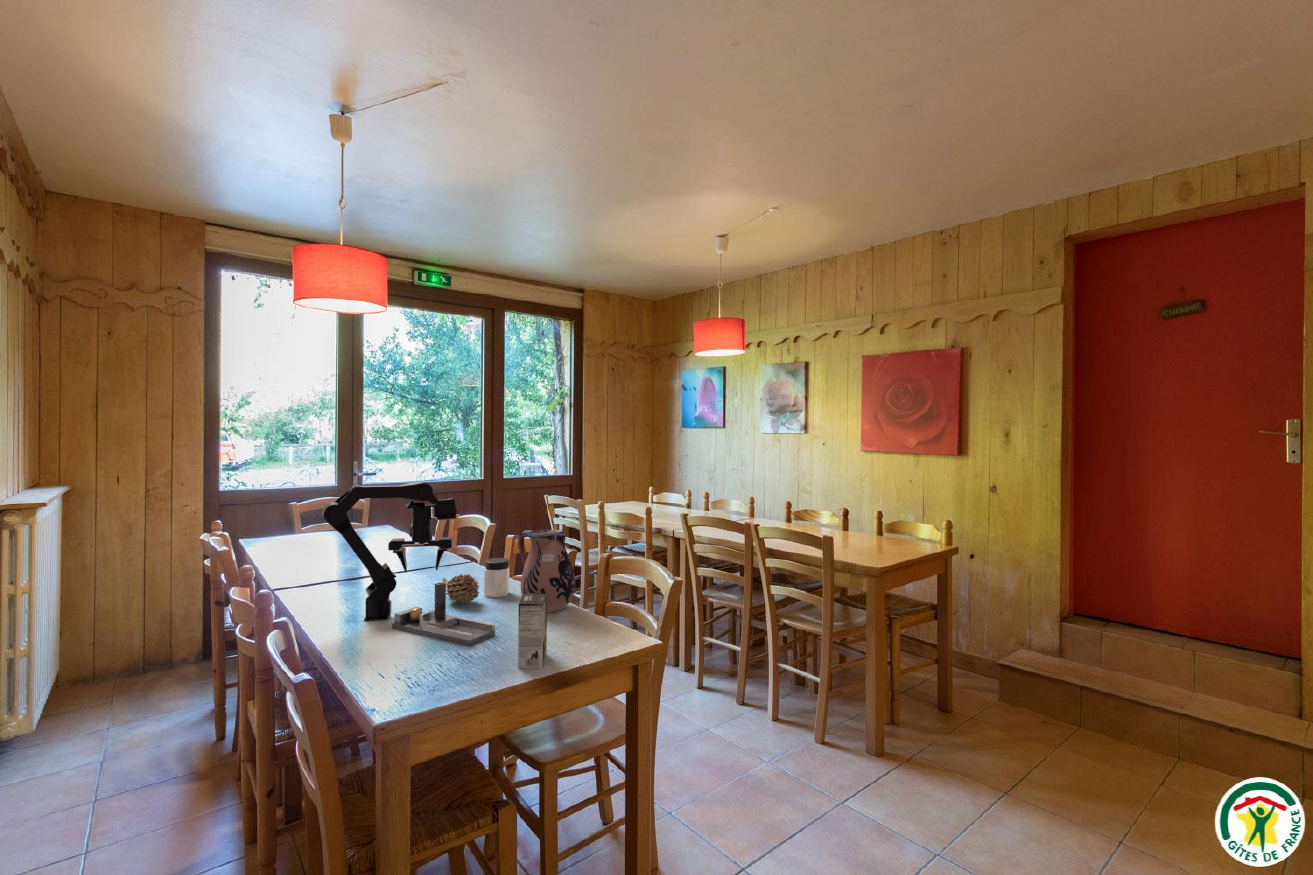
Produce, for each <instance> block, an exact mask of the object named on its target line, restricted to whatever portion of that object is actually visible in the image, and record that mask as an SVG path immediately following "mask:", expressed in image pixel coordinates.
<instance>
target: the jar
mask: <svg viewBox="0 0 1313 875" xmlns="http://www.w3.org/2000/svg"><path fill="white" fill-rule="evenodd" d="M484 566H485V567H484V571H483V572H484V573H483V574H484V578H483V579H484V585H483V586H484V588H483V589H484V590H483V596H484V597H490V598H494V597H495V598H502V597H506V596H508V595H509V593H510V560H509V558H504V557H494V558H487V559H486V560H485V561H484Z"/></svg>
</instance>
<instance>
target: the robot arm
mask: <svg viewBox="0 0 1313 875" xmlns="http://www.w3.org/2000/svg"><path fill="white" fill-rule="evenodd" d="M397 498H398V499H408V500H409V502H408V503H407V504H405V505H404V507H405V508H406V509H411V526H409V534H408V535H409V537H410V538H411V540H405V538H402V537H401V538H392V539H391V540H390V541H389V542H388V546H387V549H388V551H392V553H393V554H396V556H397V557H398V560H400V563H401V565H402V568H403V570H404V572H407V571H408V563H407V553H406V548H409V547H410V548H413V547H438V548H437V550H436V551H437V552H436V562H435V571H438V569H439V566H440V563H441V559H442V556H443V555H444V553H445V552H448V551H449V549H452V548H453V546H454V538H453V537H452V536H445V537H444V536H443V537H441V536H440V537H439V539H433V529H432V518H435V520H436V521H448V520H449V521H451V520H452V521H453V520H455V519H457V514H458V511H457V507H456V503H455V499H454V498H447V499H446V498H445V499H444V498H443V499H438V497H436V495H435V494H434V490H433V487H432V485H430V483H427V482H424V481H421V480H420V481H413V482H408V483H404V484H399V485H360V484H354V485H352V486H351V487H350V488H349V489H348V490H347V491H345V493H344V494H342V495H341V496H339V497H338V498H337V499H336V500H335V501H334V502H328V503H327V504H325V505H324V506H323V507H322V513H321V514H322V516H323V519H324V520H325V521H326V522H327V523H328V524H329V525H330V526H331V527H332V528H333V529H335V531H337V532H338V533H339V534H340V535H341V536H342V538H343V539H344V540H345V542H346V543H347V544H348V545H349V548H351V549H352V551H353V552H354V554H355V555H356V557H357V558H358V559H359V561H360V562H361V563H362V565H364V567H365V569H366V570H367V573H368V574H369V577H370V579H371V583H370V584H369V585H368V586H367V587H366V588H365V591H366V595H367V597H366V598H365V617H364V619H363V621H364V622H366V621H367V622H368V621H385V620H388V619H389V617H390V616H391V615H392V600H390V598H391V597H390V595H391V593H392V592H394V590H395V589H396V587H397V583H398V582H397V580H396V578H397V575H396V574H395V572H393V571H392V570H391V567H390V566H389V565H388V563H387V562H385V563H384V564H383V565H382V564H381V563H380V562H379V561H378V560H377V559H376V558H375V556H374V555H373V554H372V552H371V551H370V549H369V547H368V546H367V545H366V544H365V543H364V541H363V540H362V538H361V537H360V535H359V534H358V533H357V531H356V530H355V528H354V527H353V525H352V522H351V521H350V518H349V516H348V514H347V513H348V512H349V511H350V510H351V509H352V508H353V507H354V506H355V505H356V504H357V503H358V502H359V501H360V500H361V499H364V500H366V499H397ZM414 501H417V502H414ZM425 502H428V503H430V504H425Z"/></svg>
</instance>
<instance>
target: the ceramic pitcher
mask: <svg viewBox="0 0 1313 875" xmlns="http://www.w3.org/2000/svg"><path fill="white" fill-rule="evenodd" d="M564 532H565V531H564V530H562V529H540V530H539V529H538V530H527V529H526V530H524V531H522V532H521V533H520V535H519V536H518V538H517V546H518V547H517V548H518V552H519V553H518V554H519V555H520V559H521V562H522V564H523V570H522V573H521V578H520V592H521V596H522V595H523V594H527V593H536V594H547V613H554V612H558V611H562V610H563V609H565V607H567V606H569V604H570V602H571V601H572V600H573V597H574V594H575V590H576V576H575V572H574V569H573V566H572V562H571V559H570V556H569V553H568V550H567V547H566V544H565V543H566V542H565V541H566V538H567V535H566V534H565V533H564ZM526 537H528V538H529V539H530V547H529V550H528V553H527V552H526V551H527V550H526V546H525V538H526Z"/></svg>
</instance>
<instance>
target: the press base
mask: <svg viewBox="0 0 1313 875" xmlns="http://www.w3.org/2000/svg"><path fill="white" fill-rule="evenodd" d="M422 613H423V607H419V606H415V607H412V608H409V609H408V608H407V609H405V610H403V611H399V612H396V613H394V614H393V617H394V622H391V624H390V625H391V628H392V630H396V629H397V631H401V632H405V633H409V632H410V633H409V634H414V635H419V636H423V637H428V638H432V639H435V640H441V641H444V642H445V641H446V642H450V643H452V644H453V643H454V644H457V645H458V644H459V645H463V646H467V647H471V646H473V645H475V644H478V643H480V642H482V641H485V640H487V639H490V638H492V637H494V636H495V635H496V624H494V623H489V622H485V621H479V620H474V619H470V618H464V617H459V616H456V617H457V624H455V625H453V626H450V627H447V628H442V627H438V626H433V625H428V624H422V625H421V627H420V614H422ZM391 628H390V629H391Z"/></svg>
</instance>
